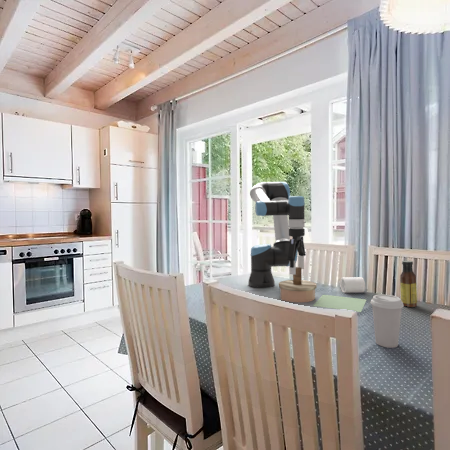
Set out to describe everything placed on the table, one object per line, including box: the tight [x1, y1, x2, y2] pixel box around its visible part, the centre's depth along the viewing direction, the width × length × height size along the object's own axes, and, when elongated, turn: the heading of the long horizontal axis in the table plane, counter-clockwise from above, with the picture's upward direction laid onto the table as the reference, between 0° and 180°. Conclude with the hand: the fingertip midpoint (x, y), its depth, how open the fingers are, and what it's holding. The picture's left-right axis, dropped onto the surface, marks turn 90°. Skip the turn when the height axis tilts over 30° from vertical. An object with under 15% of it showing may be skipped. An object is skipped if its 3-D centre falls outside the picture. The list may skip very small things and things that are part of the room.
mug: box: [339, 276, 366, 294], centre depth 165 cm, size 12×10×8 cm
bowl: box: [279, 287, 316, 303], centre depth 155 cm, size 16×16×6 cm
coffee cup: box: [370, 294, 405, 349], centre depth 102 cm, size 10×10×15 cm
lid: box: [278, 266, 318, 291], centre depth 155 cm, size 18×18×9 cm
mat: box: [312, 294, 367, 313], centre depth 145 cm, size 20×20×1 cm
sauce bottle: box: [399, 260, 418, 308], centre depth 140 cm, size 6×6×20 cm
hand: (297, 271), depth 155 cm, fingers open, 13 cm apart
